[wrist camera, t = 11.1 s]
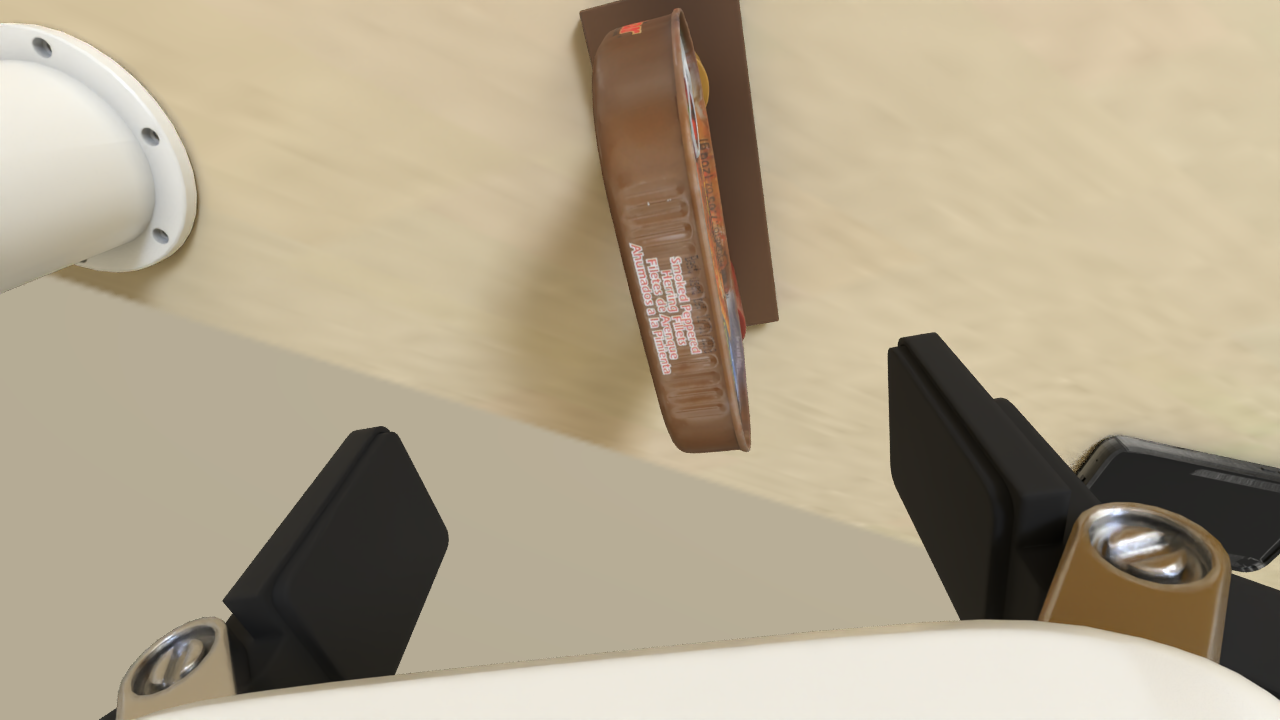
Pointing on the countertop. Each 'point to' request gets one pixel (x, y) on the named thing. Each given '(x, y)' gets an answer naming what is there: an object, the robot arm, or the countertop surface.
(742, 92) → the rod stand
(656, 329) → the tin
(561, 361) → the countertop surface
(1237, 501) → the phone
